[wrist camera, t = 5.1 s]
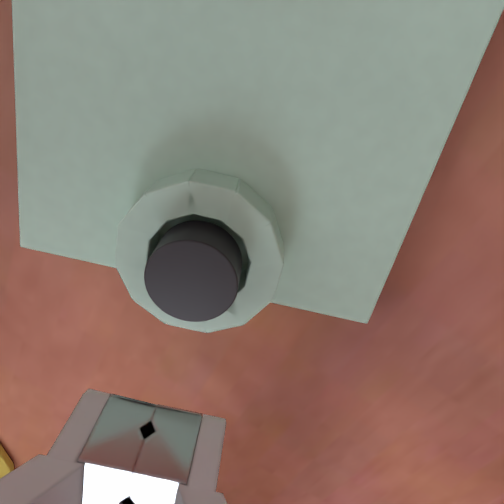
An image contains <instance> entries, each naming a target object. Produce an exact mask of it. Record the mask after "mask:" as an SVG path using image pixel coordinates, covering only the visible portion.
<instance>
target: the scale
mask: <svg viewBox="0 0 504 504" xmlns="http://www.w3.org/2000/svg"><path fill="white" fill-rule="evenodd" d="M503 9H504V0H12V22H13V52H14V81H15V111H16V140H17V170H18V199H19V229H20V246H21V247H24V248H28V249H33V250H37V251H42V252H46V253H51V254H55V255H60V256H64V257H69V258H73V259H78V260H82V261H87V262H91V263H96V264H100V265H105V266H109V267H114V268H117V270H118V272H119V274H120V276H121V278H122V280H123V282H124V284H125V286H126V288H127V290H128V292H129V294H130V296H131V298H132V299H133V300H134V301H135V302H136V303H137V304H139V305H140V306H141V307H143V308H144V309H145V310H147V311H148V312H149V313H151V314H152V315H154V316H155V317H156V318H158V319H159V320H160V321H162V322H163V323H164V324H166V323H167V324H168V325H172V326H176V327H181V328H185V329H190V330H195V331H199V332H206V333H210V332H214V331H219V330H223V329H228V328H232V327H237V326H242V325H244V324H246V323H247V322H248V321H249V320H250V319H252V318H253V317H254V316H255V315H256V314H257V313H259V312H260V311H261V310H262V309H263V308H264V307H266V306H267V305H268V304H269V303H270V302H271V303H276V304H280V305H285V306H289V307H294V308H298V309H303V310H307V311H312V312H316V313H321V314H325V315H330V316H334V317H339V318H343V319H348V320H352V321H357V322H361V323H366V324H367V323H368V321H369V319H370V317H371V314H372V312H373V310H374V307H375V305H376V303H377V300H378V298H379V296H380V294H381V291H382V289H383V287H384V284H385V282H386V280H387V277H388V275H389V273H390V270H391V268H392V266H393V263H394V261H395V259H396V257H397V254H398V252H399V250H400V247H401V245H402V243H403V240H404V238H405V236H406V233H407V231H408V229H409V226H410V224H411V222H412V220H413V217H414V215H415V213H416V210H417V208H418V206H419V203H420V201H421V199H422V196H423V194H424V192H425V189H426V187H427V185H428V183H429V180H430V178H431V176H432V173H433V171H434V169H435V166H436V164H437V162H438V159H439V157H440V155H441V152H442V150H443V148H444V146H445V143H446V141H447V139H448V136H449V134H450V132H451V129H452V127H453V125H454V122H455V120H456V118H457V115H458V113H459V111H460V109H461V106H462V104H463V102H464V99H465V97H466V95H467V92H468V90H469V88H470V85H471V83H472V81H473V79H474V76H475V74H476V72H477V69H478V67H479V65H480V62H481V60H482V58H483V55H484V53H485V51H486V48H487V46H488V44H489V42H490V39H491V37H492V35H493V32H494V30H495V28H496V25H497V23H498V21H499V18H500V16H501V14H502V11H503ZM192 220H200V221H207V222H210V223H213V224H216V225H218V226H220V227H221V228H223V229H224V230H226V231H227V232H228V233H229V234H230V235H231V236H232V237H233V238H234V239H235V241H236V242H237V244H238V246H239V248H240V251H241V255H242V269H241V274H240V280H239V286H238V292H237V296H236V298H235V300H234V302H233V304H232V305H231V306H230V308H229V309H228V310H227V311H225V312H224V313H223V314H221V315H220V316H218V317H216V318H214V319H211V320H207V321H202V322H190V321H184V320H180V319H177V318H174V317H172V316H170V315H168V314H167V313H165V312H164V311H162V310H161V309H160V308H159V307H158V306H157V305H156V304H155V303H154V302H153V301H152V299H151V298H150V296H149V294H148V292H147V290H146V286H145V282H144V271H145V266H146V264H147V261H148V259H149V258H150V256H151V254H152V253H153V251H154V250H155V248H156V246H157V245H158V243H159V241H160V240H161V238H162V237H163V235H164V234H165V233H166V232H167V231H168V230H169V229H170V228H172V227H173V226H175V225H177V224H179V223H182V222H186V221H192Z"/></svg>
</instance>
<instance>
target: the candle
mask: <svg viewBox="0 0 504 504" xmlns="http://www.w3.org/2000/svg"><path fill="white" fill-rule="evenodd" d="M13 470H14V464H13V462H12V461H11V459H10V458H9V456H8V455H7V453H6V452H5V450H4V449H3V447H2V446H1V444H0V478H2V477H4V476H5V475H7V474H8V473H10V472H11V471H13Z"/></svg>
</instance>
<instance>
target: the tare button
mask: <svg viewBox="0 0 504 504" xmlns="http://www.w3.org/2000/svg"><path fill="white" fill-rule="evenodd" d="M241 269H242V255H241V251H240V248H239V246H238V244H237V242H236V241H235V239H234V238H233V237H232V236H231V235H230V234H229V233H228V232H227V231H226V230H224V229H223V228H221V227H220V226H218V225H216V224H213V223H210V222H207V221H200V220H192V221H186V222H182V223H179V224H177V225H175V226H173V227H172V228H170V229H169V230H168V231H167V232H166V233H165V234H164V235H163V237H162V238H161V240H160V241H159V243H158V245H157V246H156V248H155V250H154V251H153V253H152V254H151V256H150V258H149V259H148V261H147V264H146V266H145V271H144V282H145V286H146V290H147V292H148V294H149V296H150V298H151V299H152V301H153V302H154V303H155V304H156V305H157V306H158V307H159V308H160V309H161V310H162V311H164V312H165V313H167V314H168V315H170V316H172V317H174V318H177V319H180V320H184V321H190V322H202V321H207V320H211V319H214V318H216V317H218V316H220V315H221V314H223V313H224V312H225V311H227V310H228V309H229V308H230V306H231V305H232V304H233V302H234V300H235V298H236V296H237V292H238V286H239V280H240V274H241Z"/></svg>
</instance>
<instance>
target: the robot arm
mask: <svg viewBox="0 0 504 504" xmlns="http://www.w3.org/2000/svg"><path fill="white" fill-rule="evenodd" d="M225 428H226V419H224V418H220V417H215V416H210V415H206V414H203V416H202V413H198V412H193V411H188V410H183V409H178V408H173V407H168V406H164V405H159V404H158V405H155V404H151V403H147V402H143V401H139V400H135V399H131V398H127V397H123V396H119V395H115V394H110V393H106V392H101V391H97V390H93V389H88V390H87V391H86V392H85V393H84V394H83V395H82V397H81V398H80V400H79V402H78V403H77V405H76V407H75V408H74V410H73V412H72V413H71V415H70V417H69V419H68V420H67V422H66V424H65V425H64V427H63V429H62V430H61V432H60V434H59V435H58V437H57V439H56V441H55V442H54V444H53V446H52V447H51V449H50V451H49V452H48V454H47V456H46V455H40V454H39V455H37V456H35V457H34V458H32V459H31V460H29V461H27V462H26V463H24V464H23V465H21V466H19V467H18V468H16V469H15V470H13V471H11V472H10V473H8V474H7V475H5V476H4V477H2V478H0V504H227V502H226V499H225V497H224V495H223V493H219V492H216V487H217V480H218V474H219V467H220V461H221V454H222V448H223V441H224V435H225Z"/></svg>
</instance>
